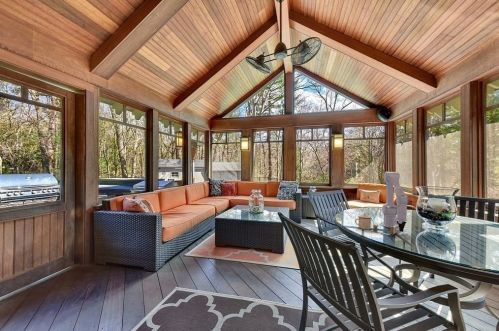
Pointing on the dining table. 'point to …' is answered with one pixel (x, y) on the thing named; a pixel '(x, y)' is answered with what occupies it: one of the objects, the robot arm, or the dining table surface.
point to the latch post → (375, 228)
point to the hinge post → (391, 230)
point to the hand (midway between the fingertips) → (401, 231)
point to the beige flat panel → (395, 229)
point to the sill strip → (383, 233)
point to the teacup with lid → (364, 221)
